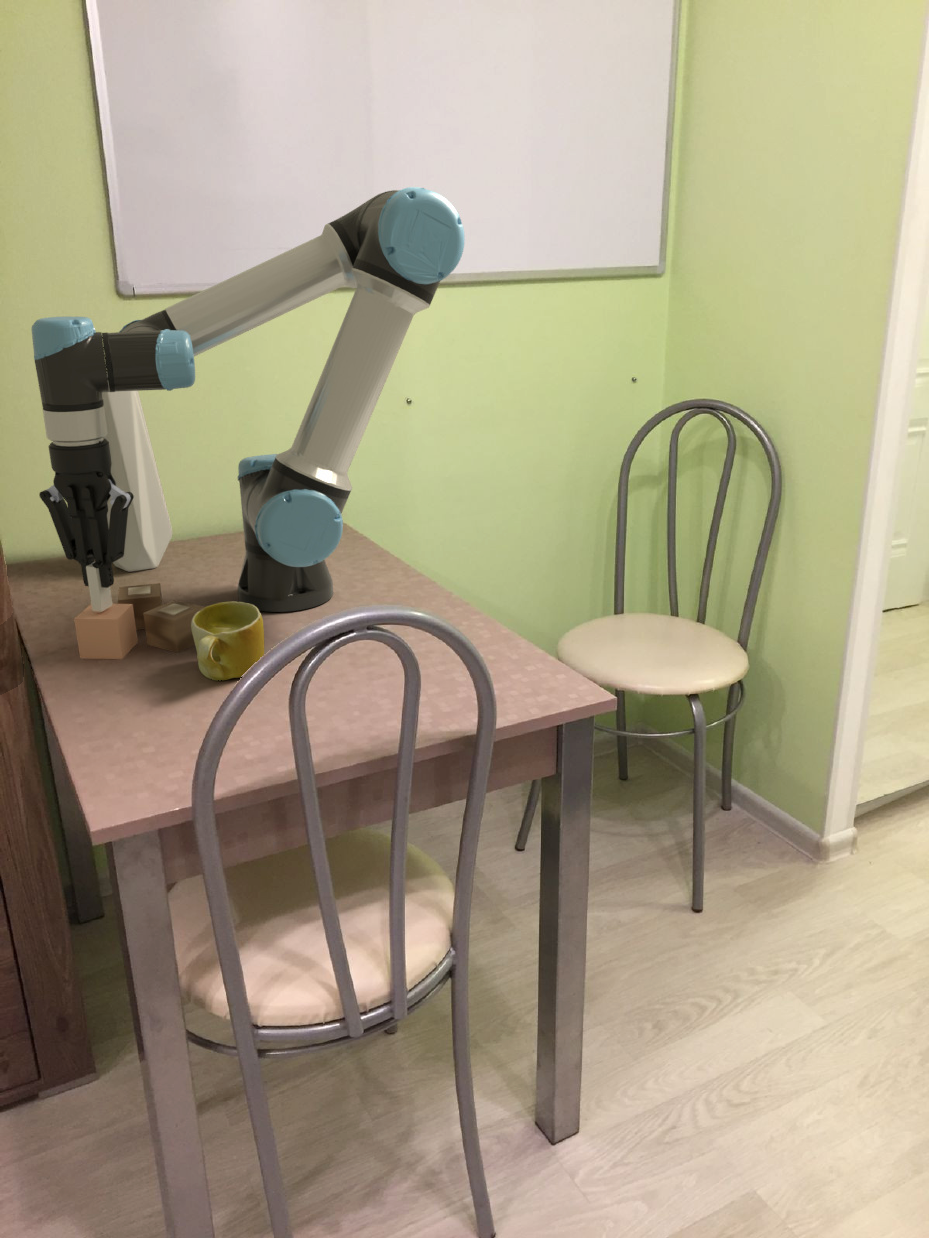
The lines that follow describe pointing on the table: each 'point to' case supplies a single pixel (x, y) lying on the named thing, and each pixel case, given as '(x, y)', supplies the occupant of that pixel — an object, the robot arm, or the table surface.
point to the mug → (228, 639)
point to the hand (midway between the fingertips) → (102, 607)
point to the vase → (136, 482)
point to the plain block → (106, 632)
